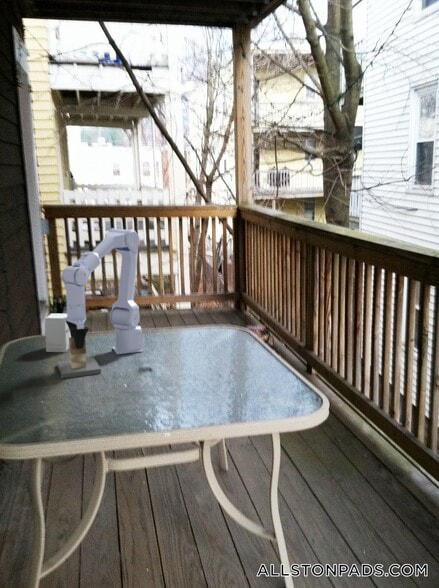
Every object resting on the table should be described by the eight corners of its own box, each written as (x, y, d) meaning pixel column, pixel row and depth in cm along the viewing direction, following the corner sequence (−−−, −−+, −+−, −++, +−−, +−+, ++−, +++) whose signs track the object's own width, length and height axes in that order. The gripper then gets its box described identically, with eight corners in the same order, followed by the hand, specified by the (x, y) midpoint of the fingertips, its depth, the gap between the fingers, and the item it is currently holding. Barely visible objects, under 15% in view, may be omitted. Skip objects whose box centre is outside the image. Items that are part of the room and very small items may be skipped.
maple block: (83, 362, 175) (83, 349, 174) (86, 366, 171) (85, 353, 170) (69, 363, 173) (69, 350, 172) (71, 368, 169) (71, 355, 168)
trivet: (93, 361, 180) (93, 357, 180) (100, 373, 170) (100, 368, 169) (57, 365, 175) (57, 361, 175) (62, 378, 165) (62, 373, 164)
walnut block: (83, 349, 174) (83, 336, 173) (85, 353, 170) (85, 340, 169) (69, 350, 172) (68, 337, 171) (71, 355, 168) (71, 341, 167)
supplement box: (66, 352, 189) (64, 318, 186) (45, 352, 189) (43, 318, 186) (72, 346, 196) (71, 313, 194) (52, 345, 196) (50, 312, 194)
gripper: (59, 300, 173) (61, 339, 176) (66, 310, 160) (68, 352, 163) (81, 298, 176) (83, 337, 178) (90, 308, 163) (91, 350, 165)
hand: (77, 344), depth 171 cm, fingers open, 7 cm apart
